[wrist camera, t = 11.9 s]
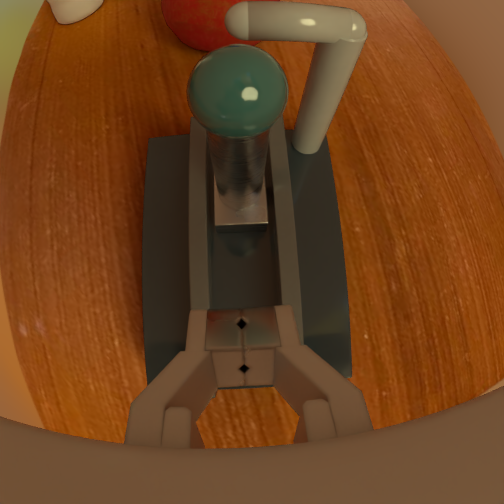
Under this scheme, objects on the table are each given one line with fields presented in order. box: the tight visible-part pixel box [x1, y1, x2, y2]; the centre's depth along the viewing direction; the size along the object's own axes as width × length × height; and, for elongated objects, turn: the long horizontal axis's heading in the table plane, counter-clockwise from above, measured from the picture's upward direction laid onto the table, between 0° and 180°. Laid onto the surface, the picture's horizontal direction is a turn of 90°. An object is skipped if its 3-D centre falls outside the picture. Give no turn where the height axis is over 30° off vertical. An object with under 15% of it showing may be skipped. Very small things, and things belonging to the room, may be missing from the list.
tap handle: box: [186, 44, 288, 233], centre depth 13 cm, size 3×4×12 cm
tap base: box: [142, 1, 368, 398], centre depth 14 cm, size 12×16×14 cm
